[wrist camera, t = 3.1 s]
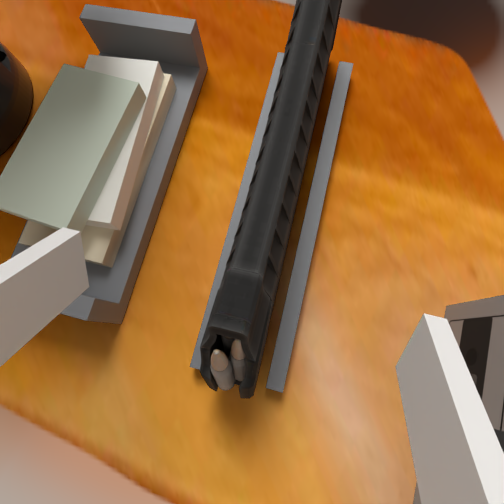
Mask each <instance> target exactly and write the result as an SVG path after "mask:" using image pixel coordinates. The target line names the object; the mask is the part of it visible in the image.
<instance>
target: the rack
mask: <svg viewBox="0 0 504 504" xmlns="http://www.w3.org/2000/svg"><path fill="white" fill-rule="evenodd" d="M79 18H80V20H81V21H82V23H83V25H84V26H85V28H86V29H87V31H88V33H89V34H90V36H91V38H92V39H93V41H94V43H95V44H96V46H97V48H98V49H99V51H100V54H99V56H108V57H118V58H128V59H139V60H149V61H158V62H159V64H160V67H161V69H162V71H163V73H165V74H171V75H172V78H173V80H174V83H175V86H176V91H175V94H174V97H173V99H172V102H171V105H170V108H169V111H168V113H167V116H166V119H165V122H164V125H163V127H162V130H161V133H160V136H159V139H158V141H157V144H156V147H155V150H154V153H153V155H152V158H151V161H150V164H149V167H148V169H147V172H146V175H145V178H144V180H143V183H142V186H141V189H140V192H139V194H138V197H137V200H136V203H135V206H134V208H133V211H132V214H131V217H130V220H129V222H128V225H127V228H126V231H125V234H124V236H123V239H122V242H121V245H120V248H119V250H118V253H117V256H116V259H115V262H114V264H113V267H112V268H111V267H107V266H103V265H99V264H95V263H91V262H87V261H85V263H86V269H87V276H88V282H89V287H88V288H87V289H86V290H85V291H84V292H83V293H82V294H81V295H80V296H78V297H77V298H76V299H75V300H74V301H73V302H72V303H71V304H70V305H68V306H67V307H66V308H65V309H64V310H63V311H62V312H61V313H60V314H64V315H67V316H71V317H75V318H78V319H82V320H86V321H94V322H105V323H116V324H122V321H123V318H124V315H125V312H126V309H127V306H128V303H129V300H130V297H131V294H132V291H133V288H134V285H135V282H136V279H137V276H138V273H139V270H140V267H141V264H142V261H143V258H144V255H145V252H146V249H147V246H148V243H149V241H150V238H151V235H152V232H153V229H154V226H155V223H156V220H157V217H158V214H159V211H160V208H161V205H162V202H163V199H164V196H165V193H166V190H167V187H168V184H169V181H170V178H171V175H172V172H173V169H174V166H175V163H176V160H177V157H178V154H179V152H180V149H181V146H182V143H183V140H184V137H185V134H186V131H187V128H188V125H189V122H190V119H191V116H192V113H193V110H194V107H195V104H196V101H197V98H198V95H199V92H200V89H201V86H202V83H203V80H204V77H205V74H206V71H207V68H208V67H207V63H206V59H205V55H204V51H203V46H202V42H201V38H200V34H199V30H198V26H197V22H196V20H195V19H188V18H181V17H174V16H167V15H160V14H153V13H145V12H138V11H131V10H124V9H117V8H110V7H103V6H96V5H89V4H86V5H85V7H84V9H83V11H82V13H81V15H80V17H79ZM283 57H284V53H280V52H278V54H277V58H276V61H275V65H274V68H273V72H272V76H271V79H270V83H269V86H268V90H267V93H266V97H265V100H264V104H263V108H262V111H261V115H260V118H259V122H258V125H257V129H256V133H255V136H254V140H253V143H252V147H251V150H250V154H249V157H248V161H247V165H246V168H245V172H244V175H243V179H242V182H241V186H240V190H239V193H238V197H237V200H236V204H235V207H234V211H233V214H232V218H231V222H230V225H229V229H228V232H227V236H226V239H225V243H224V246H223V250H222V254H221V257H220V261H219V264H218V268H217V271H216V275H215V279H214V282H213V286H212V289H211V293H210V296H209V300H208V303H207V307H206V311H205V314H204V318H203V321H202V325H201V328H200V332H199V336H198V339H197V343H196V346H195V350H194V353H193V357H192V360H191V364H190V367H192V368H196V369H199V370H200V366H201V352H200V346H201V342H202V339H203V336H204V333H205V329H206V326H207V323H208V320H209V317H210V314H211V310H212V307H213V304H214V301H215V298H216V294H217V291H218V289H219V288H220V284H221V281H222V278H223V275H224V271H225V268H226V263H227V260H228V258H229V255H230V252H231V249H232V245H233V242H234V237H235V234H236V232H237V229H238V225H239V222H240V218H241V215H242V214H241V213H242V210H243V208H244V205H245V201H246V198H247V194H248V191H249V185H250V182H251V180H252V176H253V173H254V169H255V166H256V165H255V164H256V161H257V158H258V155H259V151H260V147H261V144H262V138H263V135H264V132H265V128H266V125H267V121H268V115H269V112H270V109H271V105H272V101H273V98H274V92H275V89H276V86H277V82H278V78H279V74H280V68H281V65H282V62H283ZM352 67H353V63H347V62H339V66H338V70H337V75H336V79H335V84H334V88H333V92H332V97H331V101H330V106H329V110H328V115H327V119H326V123H325V128H324V132H323V137H322V141H321V146H320V150H319V154H318V159H317V163H316V168H315V172H314V177H313V181H312V185H311V190H310V194H309V199H308V203H307V208H306V212H305V216H304V221H303V225H302V230H301V234H300V239H299V243H298V247H297V252H296V256H295V261H294V265H293V270H292V274H291V278H290V283H289V287H288V292H287V296H286V301H285V305H284V309H283V314H282V318H281V323H280V327H279V332H278V336H277V340H276V345H275V349H274V354H273V358H272V363H271V367H270V371H269V376H268V380H267V385H266V388H268V389H271V390H275V391H278V392H282V393H283V390H284V385H285V380H286V376H287V371H288V366H289V362H290V357H291V352H292V347H293V343H294V338H295V333H296V329H297V324H298V319H299V315H300V310H301V305H302V301H303V296H304V291H305V287H306V282H307V277H308V273H309V268H310V263H311V259H312V254H313V249H314V245H315V240H316V235H317V230H318V226H319V221H320V216H321V212H322V207H323V202H324V198H325V193H326V188H327V184H328V179H329V174H330V170H331V165H332V160H333V156H334V151H335V146H336V142H337V137H338V132H339V127H340V123H341V118H342V113H343V109H344V104H345V99H346V95H347V90H348V85H349V81H350V76H351V71H352ZM27 222H28V220H27ZM27 222H26V224H27ZM26 224H25V226H26ZM24 229H25V227H24ZM24 229H23V231H24ZM23 231H22V233H23ZM21 236H22V234H21ZM21 236H20V238H21ZM20 238H19V240H20ZM18 242H19V241H18ZM28 248H29V247H28V246H26V245H23V244H20V243H17V245H16V247H15V250H14V252H13V254H12V257H11V258H13V257H14V256H16V255H18V254H19V253H21V252H23V251H24V250H26V249H28Z"/></svg>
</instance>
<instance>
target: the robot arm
mask: <svg viewBox="0 0 504 504" xmlns="http://www.w3.org/2000/svg"><path fill="white" fill-rule="evenodd" d="M32 98H33V91H32V84H31V80H30V77H29V75H28V73H27V71H26V69H25V68H24V66H23V65H22V64H21V63H20V62H19V61H18V60H17V59H16V58H15V56H14V55H13V54H12V53H11V52H10V51H9V50H8V49H7V48H6V47H5V46H4V45H3V44H2V43H1V42H0V155H1V154H2V153H3V152H4V151H6V150H7V149H8V148H9V147H10V145H11V144H12V143H13V142H14V141H15V139H16V138H17V137H18V135H19V134H20V132H21V131H22V129H23V127H24V126H25V124H26V121H27V119H28V117H29V114H30V110H31V106H32ZM88 287H89V282H88V276H87V269H86V263H85V257H84V251H83V245H82V238H81V232H80V231H76V230H72V229H68V228H64V227H63V228H61V229H59V230H58V231H56V232H54V233H53V234H51V235H49V236H48V237H46V238H44V239H43V240H41V241H39V242H38V243H36V244H34V245H33V246H31V247H29V248H28V249H26V250H24V251H23V252H21V253H19V254H18V255H16V256H14V257H13V258H11V259H9V260H8V261H6V262H4V263H3V264H1V265H0V367H1V366H2V365H3V364H4V363H5V362H6V361H7V360H8V359H10V358H11V357H12V356H13V355H14V354H15V353H16V352H17V351H18V350H20V349H21V348H22V347H23V346H24V345H25V344H26V343H27V342H28V341H30V340H31V339H32V338H33V337H34V336H35V335H36V334H37V333H38V332H40V331H41V330H42V329H43V328H44V327H45V326H46V325H47V324H48V323H50V322H51V321H52V320H53V319H54V318H55V317H56V316H57V315H58V314H60V313H61V312H62V311H63V310H64V309H65V308H66V307H67V306H68V305H70V304H71V303H72V302H73V301H74V300H75V299H76V298H77V297H78V296H80V295H81V294H82V293H83V292H84V291H85V290H86V289H87V288H88ZM396 372H397V377H398V383H399V388H400V393H401V398H402V404H403V409H404V414H405V420H406V425H407V430H408V436H409V441H410V446H411V452H412V457H413V462H414V468H415V473H416V478H417V484H418V489H419V494H420V500H421V504H504V431H501V430H497V429H494V428H493V427H492V424H491V422H490V420H489V417H488V415H487V412H486V410H485V408H484V405H483V403H482V401H481V398H480V396H479V394H478V391H477V389H476V386H475V384H474V382H473V379H472V377H471V375H470V372H469V370H468V368H467V365H466V363H465V361H464V358H463V356H462V353H461V351H460V349H459V346H458V344H457V342H456V339H455V337H454V335H453V332H452V330H451V327H450V325H449V323H448V320H447V319H445V318H441V317H437V316H433V315H428V314H423V316H422V318H421V320H420V321H419V323H418V325H417V327H416V329H415V331H414V333H413V335H412V337H411V338H410V340H409V342H408V344H407V346H406V348H405V350H404V352H403V353H402V355H401V357H400V359H399V361H398V363H397V365H396Z"/></svg>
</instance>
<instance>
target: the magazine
mask: <svg viewBox="0 0 504 504" xmlns="http://www.w3.org/2000/svg"><path fill="white" fill-rule="evenodd" d="M341 3H342V0H297V1H296V5H295V10H294V14H293V19H292V21H291V28H290V32H289V36H288V41H287V44H286V47H285V53H284V57H283V62H282V65H281V68H280V74H279V78H278V82H277V86H276V89H275V92H274V98H273V101H272V105H271V109H270V112H269V115H268V121H267V125H266V128H265V132H264V135H263V138H262V144H261V147H260V151H259V155H258V158H257V161H256V164H255V165H256V166H255V169H254V173H253V176H252V180H251V182H250V185H249V191H248V194H247V198H246V201H245V205H244V208H243V210H242V213H241V214H242V215H241V218H240V222H239V225H238V229H237V232H236V234H235V237H234V242H233V245H232V249H231V252H230V255H229V258H228V260H227V263H226V268H225V271H224V275H223V278H222V281H221V284H220V288H219V289H218V291H217V294H216V298H215V301H214V304H213V307H212V310H211V314H210V317H209V320H208V323H207V326H206V329H205V333H204V336H203V339H202V342H201V346H200V352H201V366H200V373H201V375H202V377H203V378H204V380H205V381H206V383H207V385H208V386H209V387H210V388H211V389H213V390H215V391H217V389H218V387H219V388H220V389H222V390H230V389H231V388H232V387H233V386H234V384H236V385H240V386H239V392H240V397H241V398H250V397H252V396H253V395H254V390H255V386H256V382H257V378H258V373H259V369H260V365H261V360H262V356H263V352H264V347H265V343H266V339H267V333H268V327H269V323H270V319H271V314H272V310H273V306H274V301H275V297H276V293H277V288H278V284H279V280H280V275H281V271H282V266H283V262H284V258H285V253H286V249H287V245H288V240H289V236H290V232H291V227H292V223H293V218H294V214H295V209H296V205H297V201H298V196H299V192H300V187H301V183H302V178H303V174H304V170H305V165H306V161H307V156H308V152H309V147H310V143H311V138H312V134H313V129H314V125H315V120H316V116H317V111H318V107H319V102H320V98H321V93H322V89H323V84H324V80H325V75H326V71H327V66H328V62H329V57H330V53H331V51H332V49H333V45H334V39H335V34H336V29H337V24H338V19H339V14H340V8H341Z"/></svg>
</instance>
